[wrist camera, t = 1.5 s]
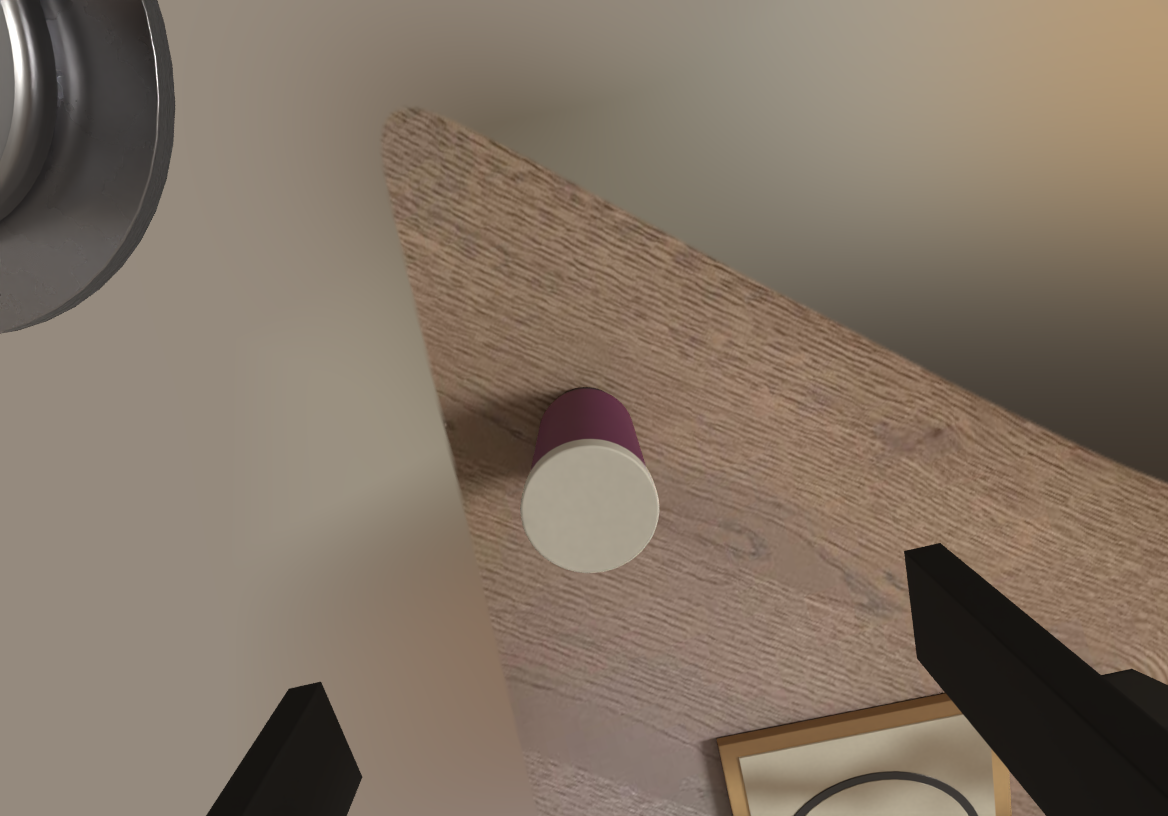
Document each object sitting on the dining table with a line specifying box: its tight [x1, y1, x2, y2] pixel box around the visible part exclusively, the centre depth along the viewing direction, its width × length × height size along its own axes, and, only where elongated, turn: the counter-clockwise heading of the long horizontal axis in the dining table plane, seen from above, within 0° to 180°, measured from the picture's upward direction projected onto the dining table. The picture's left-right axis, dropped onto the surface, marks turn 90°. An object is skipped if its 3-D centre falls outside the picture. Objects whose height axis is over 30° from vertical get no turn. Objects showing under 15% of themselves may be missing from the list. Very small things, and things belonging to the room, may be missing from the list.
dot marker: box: [520, 387, 659, 573], centre depth 25 cm, size 5×5×10 cm
